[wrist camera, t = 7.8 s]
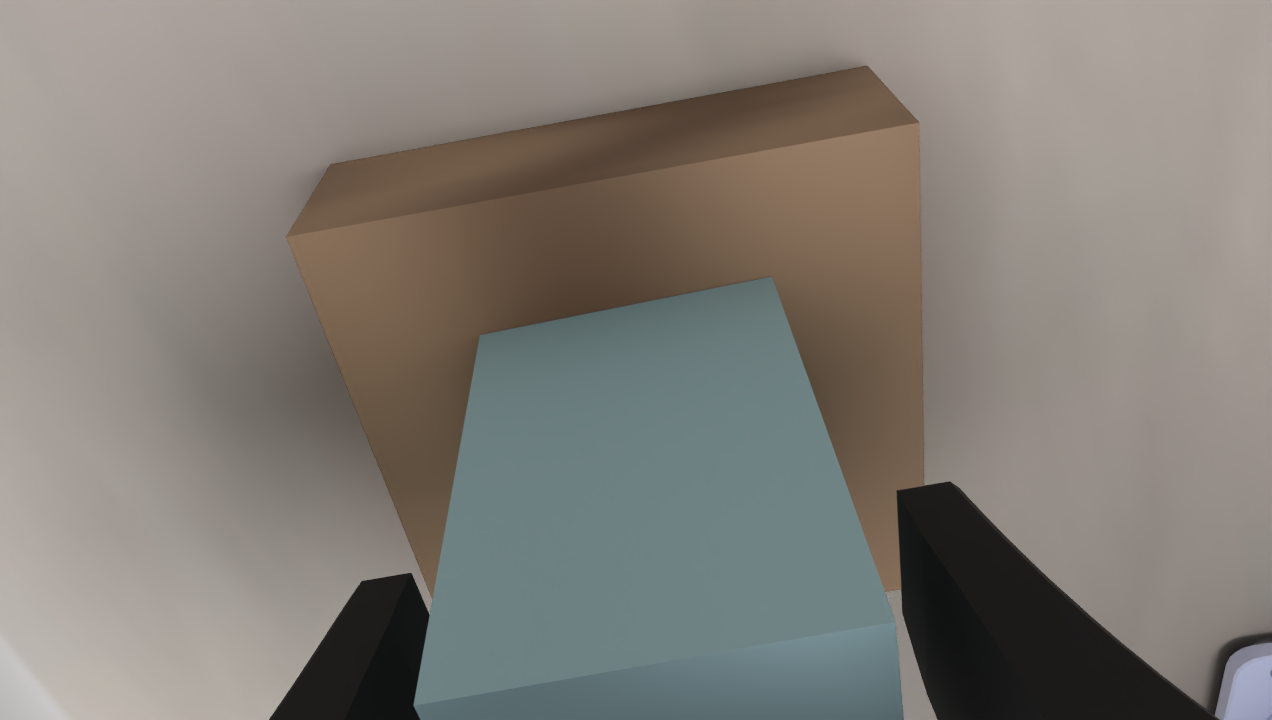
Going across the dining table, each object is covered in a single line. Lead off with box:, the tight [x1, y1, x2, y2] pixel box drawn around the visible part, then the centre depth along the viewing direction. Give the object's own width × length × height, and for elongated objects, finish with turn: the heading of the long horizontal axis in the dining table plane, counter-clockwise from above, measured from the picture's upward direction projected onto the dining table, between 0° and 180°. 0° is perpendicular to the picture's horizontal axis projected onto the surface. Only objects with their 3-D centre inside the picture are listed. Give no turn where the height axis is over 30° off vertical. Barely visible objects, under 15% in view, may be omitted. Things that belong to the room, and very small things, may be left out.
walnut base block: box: [286, 66, 924, 600], centre depth 15 cm, size 8×8×3 cm
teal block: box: [414, 277, 904, 720], centre depth 11 cm, size 4×4×6 cm
